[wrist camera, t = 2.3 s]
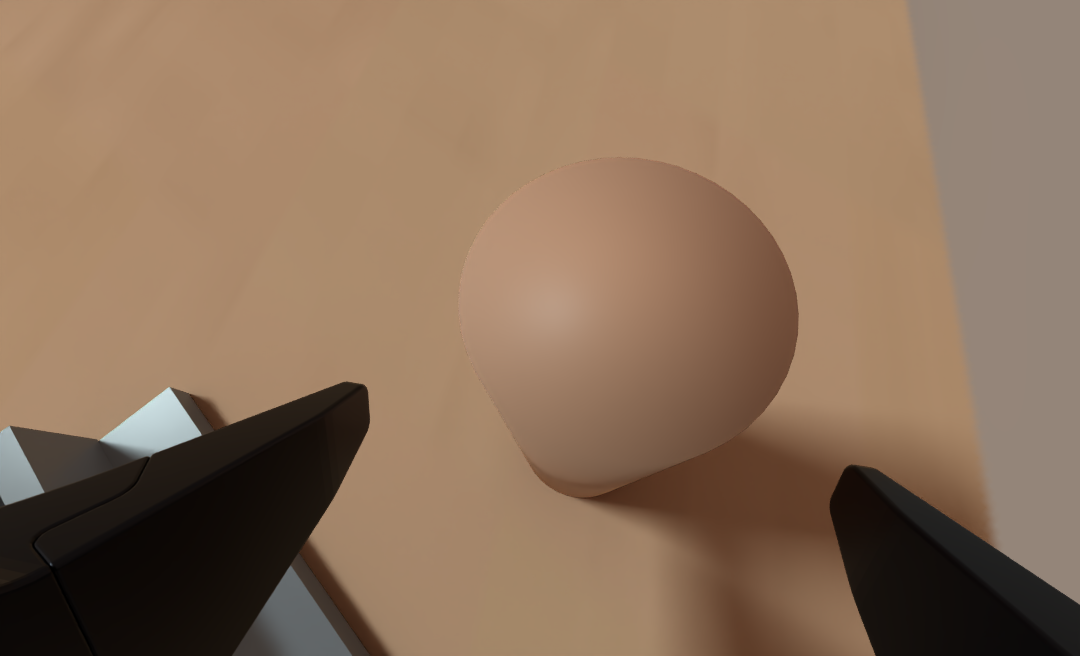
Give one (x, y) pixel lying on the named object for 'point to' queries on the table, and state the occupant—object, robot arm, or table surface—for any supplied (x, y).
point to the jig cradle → (169, 419)
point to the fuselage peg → (625, 319)
